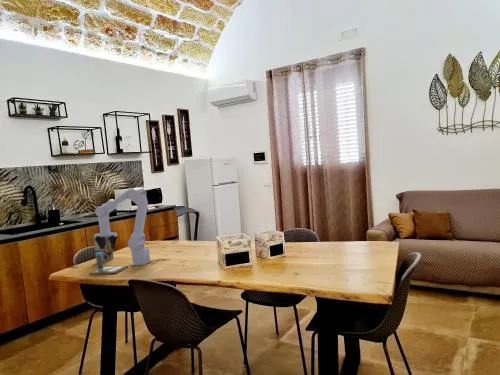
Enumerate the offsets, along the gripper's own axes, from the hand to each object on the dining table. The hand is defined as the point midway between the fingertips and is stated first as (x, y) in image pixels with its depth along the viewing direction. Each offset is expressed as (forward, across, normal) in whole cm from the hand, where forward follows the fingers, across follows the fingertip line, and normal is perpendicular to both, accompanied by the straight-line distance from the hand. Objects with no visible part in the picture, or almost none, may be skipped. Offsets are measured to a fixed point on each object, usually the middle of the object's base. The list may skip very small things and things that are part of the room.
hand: (107, 248), depth 221 cm
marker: (+8, +5, -15) cm, 18 cm away
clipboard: (+9, +9, -13) cm, 18 cm away
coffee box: (+10, -10, +10) cm, 17 cm away
